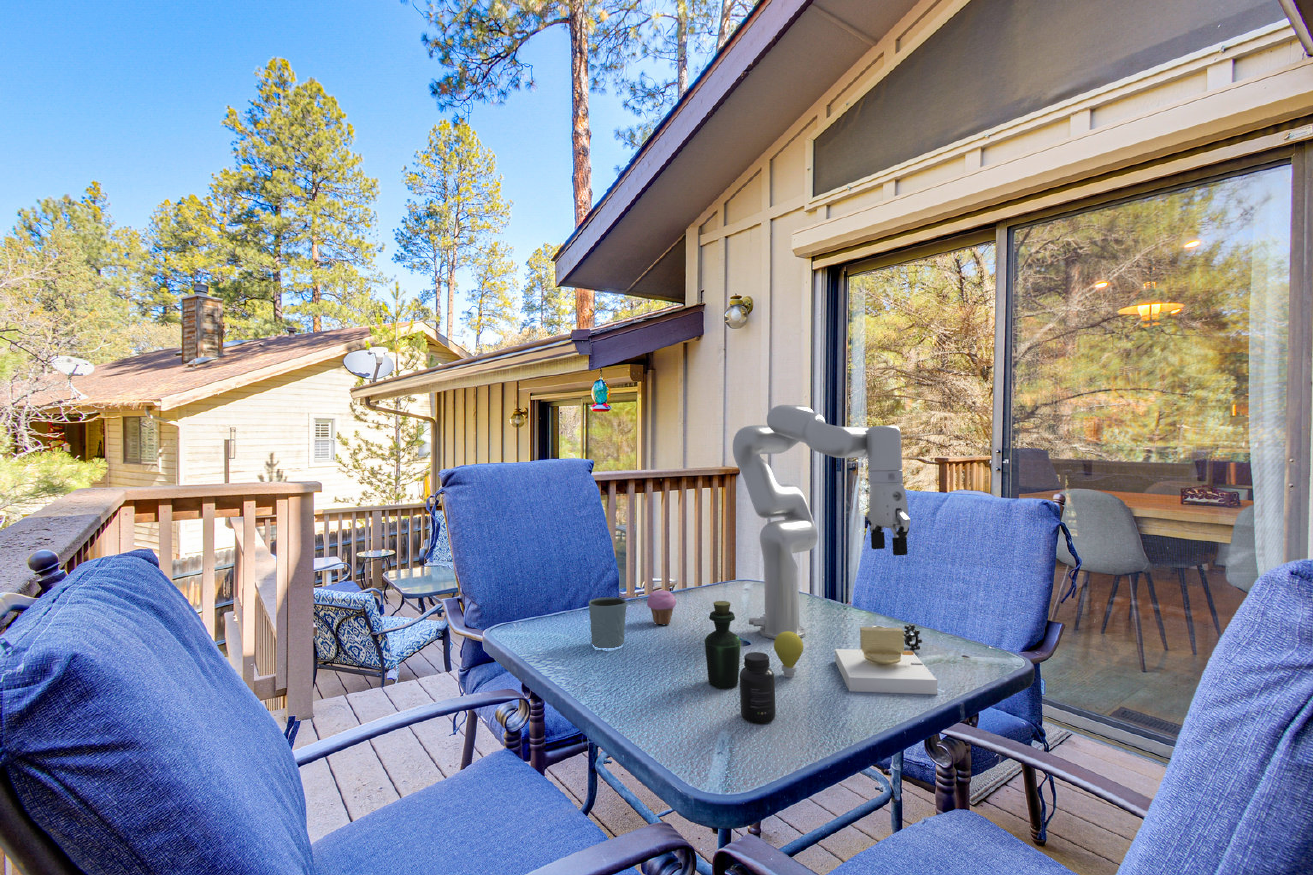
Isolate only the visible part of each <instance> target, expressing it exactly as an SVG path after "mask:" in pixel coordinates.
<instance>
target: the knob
mask: <svg viewBox="0 0 1313 875" xmlns="http://www.w3.org/2000/svg"><path fill="white" fill-rule="evenodd" d="M884 627H885V626H883V627H873V626H870V627H869V626H859V633H860V634H859V636H860V637H859V640H860V650H862V652H864V658H865V659H867V660H869V661H872V662H875V663H878V664H895V663H898V662H900V661H901V654H902V655H913V653H914V650H905V641H904V631H905V630H903V629H902V627H886V628H884Z"/></svg>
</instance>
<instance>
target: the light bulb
mask: <svg viewBox="0 0 1313 875" xmlns="http://www.w3.org/2000/svg"><path fill="white" fill-rule="evenodd" d="M773 649H774V652H775V653H776V655H777V657H778V660H780V662H781V663H782V665H781V671H782V672H783V676H784V677H786V678H794V677H795V673H796V672H797V666H796V664H797V663H798V661H799V660H800V658H801V656H802V654H803V651H804V642H803V640H802V637H801V638H800V637H799V636H798V635H797V634H795V633H793V632H790V631H785V632H782V633H780V634H779V635H778V636H777V637H776V639H774V641H773Z"/></svg>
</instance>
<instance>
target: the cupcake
mask: <svg viewBox="0 0 1313 875" xmlns="http://www.w3.org/2000/svg"><path fill="white" fill-rule="evenodd" d="M676 604H677V601H676V597H675V595H674V594H673V593H672V592H670V591H668V590H662V589H659V590H655V591H652V592H651V593H650V594H649V596H648V597H647V603H646V606H647V607H648V608H649V609H650V611H651V615H652V620H653V624H655V623H656V624H655V625H657V624H669V623H670V624H671V619H672V616H673V611H674V608H675V607H676ZM670 624H669V625H670Z"/></svg>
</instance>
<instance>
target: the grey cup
mask: <svg viewBox="0 0 1313 875" xmlns="http://www.w3.org/2000/svg"><path fill="white" fill-rule="evenodd" d="M627 603H628V602H627V600H626V599H625V598H622V597H615V596H614V597H613V596H605V597H604V596H603V597H596V598H593V599H590V600H589V601H588V612H589V620H590V634H591V637H590V638H591V645H592V644H593V645H594V646H595V647H598V648H615V647H619V646H621V645H622V644H623V643H624V644H625V626H626V614H627V606H628V605H627Z"/></svg>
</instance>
